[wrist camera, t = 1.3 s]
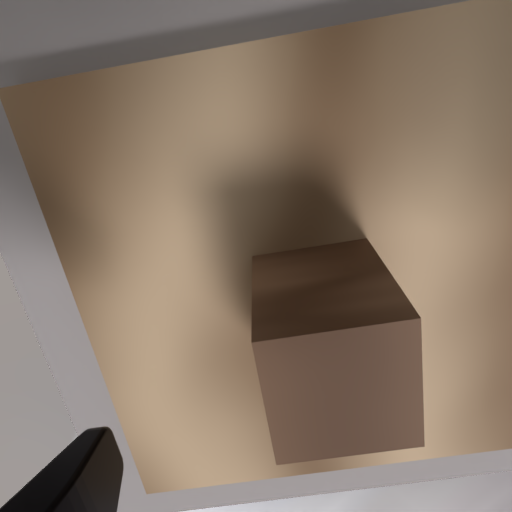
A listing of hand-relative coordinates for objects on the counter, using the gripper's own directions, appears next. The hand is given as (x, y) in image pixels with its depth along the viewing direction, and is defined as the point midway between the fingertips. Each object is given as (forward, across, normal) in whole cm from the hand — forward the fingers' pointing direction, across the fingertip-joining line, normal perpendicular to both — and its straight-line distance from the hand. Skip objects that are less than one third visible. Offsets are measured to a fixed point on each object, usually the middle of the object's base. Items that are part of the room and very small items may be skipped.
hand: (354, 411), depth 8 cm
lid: (+5, 0, 0) cm, 5 cm away
